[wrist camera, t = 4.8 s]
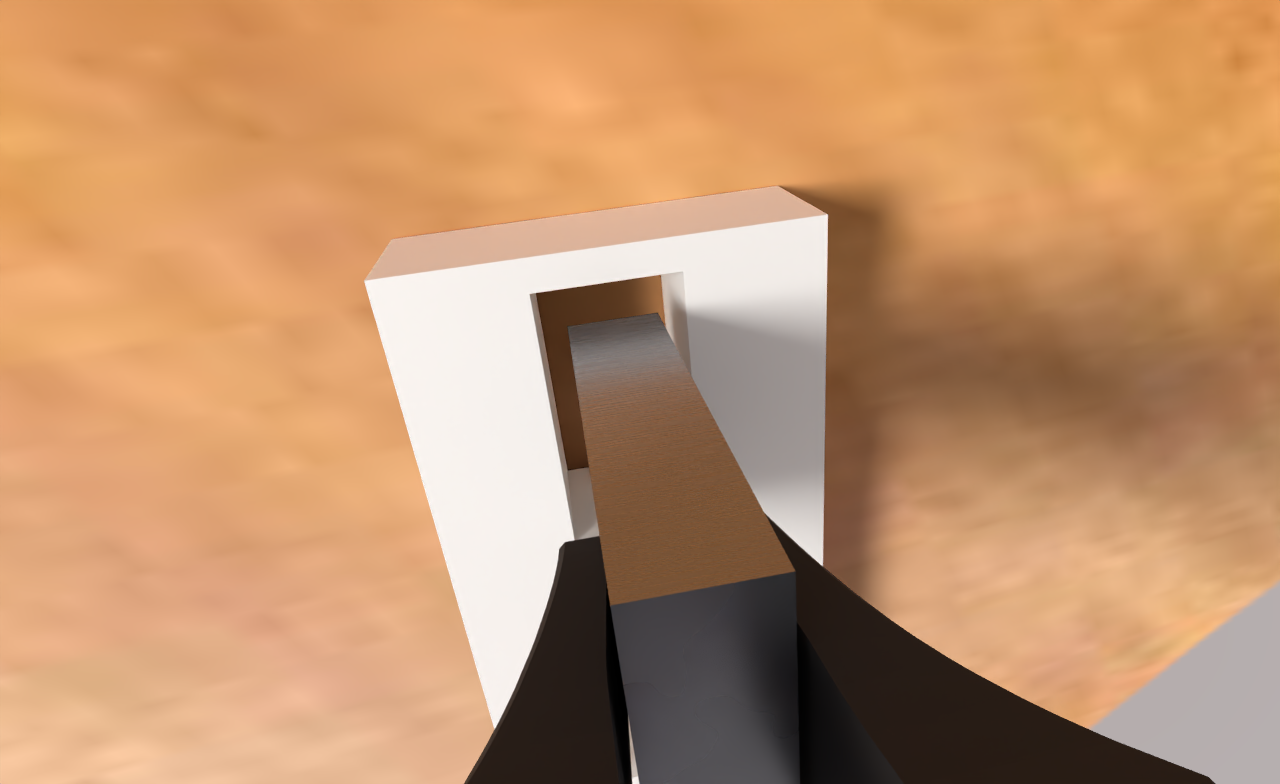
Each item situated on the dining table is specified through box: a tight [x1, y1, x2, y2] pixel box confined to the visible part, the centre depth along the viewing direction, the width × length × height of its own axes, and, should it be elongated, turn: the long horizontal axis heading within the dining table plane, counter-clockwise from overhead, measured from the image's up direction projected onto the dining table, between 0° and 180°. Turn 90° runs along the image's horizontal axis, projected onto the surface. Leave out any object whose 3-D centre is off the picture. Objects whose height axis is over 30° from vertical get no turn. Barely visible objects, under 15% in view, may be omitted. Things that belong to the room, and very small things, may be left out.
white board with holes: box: [364, 186, 828, 784], centre depth 21 cm, size 18×10×4 cm, turn 6°
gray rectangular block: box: [567, 313, 800, 784], centre depth 13 cm, size 5×2×9 cm, turn 6°
